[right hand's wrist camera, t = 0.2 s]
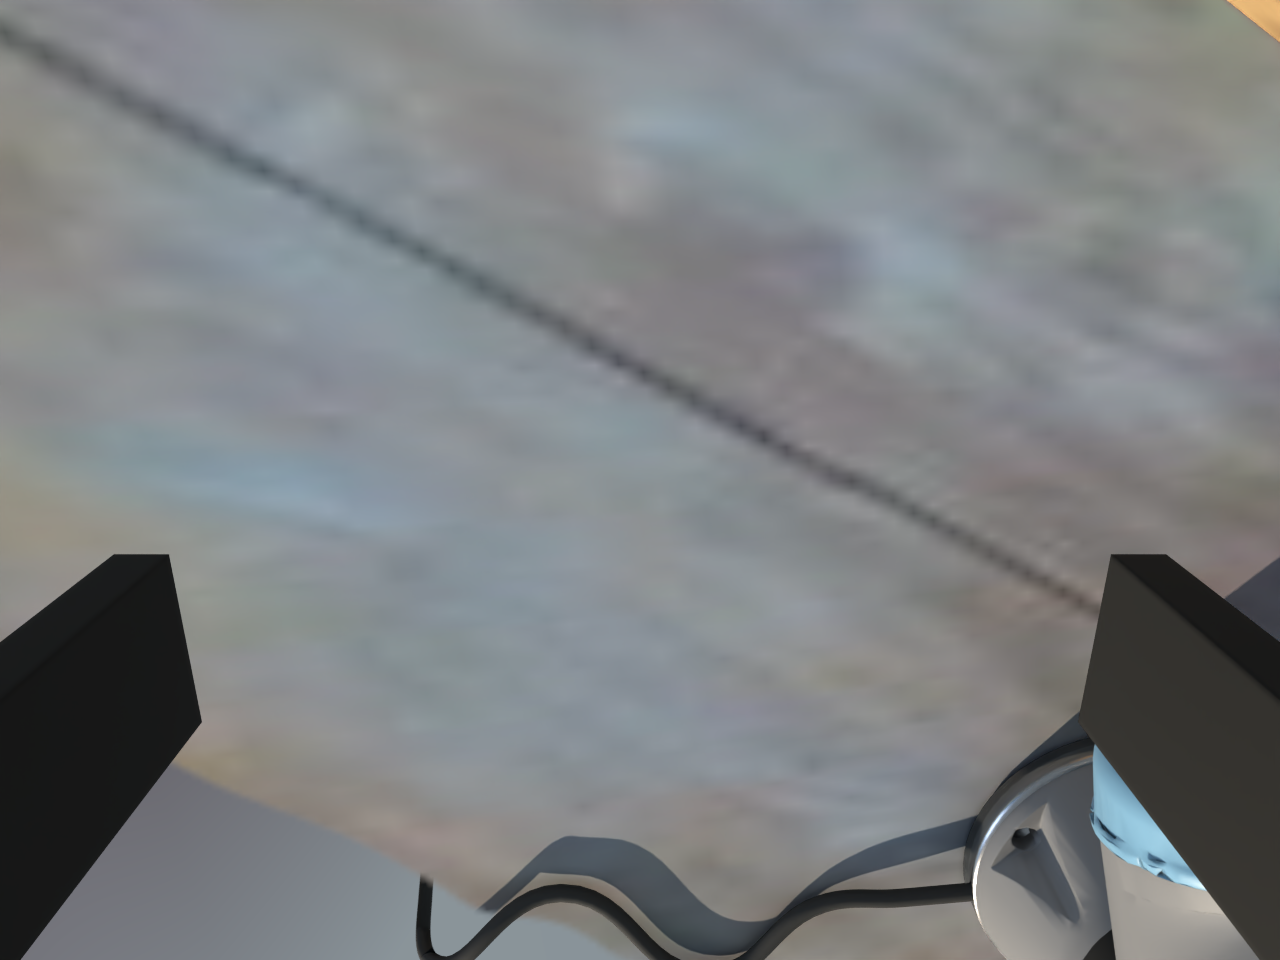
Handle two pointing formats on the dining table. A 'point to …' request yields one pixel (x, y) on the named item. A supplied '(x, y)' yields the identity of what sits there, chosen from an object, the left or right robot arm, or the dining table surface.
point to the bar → (1262, 14)
